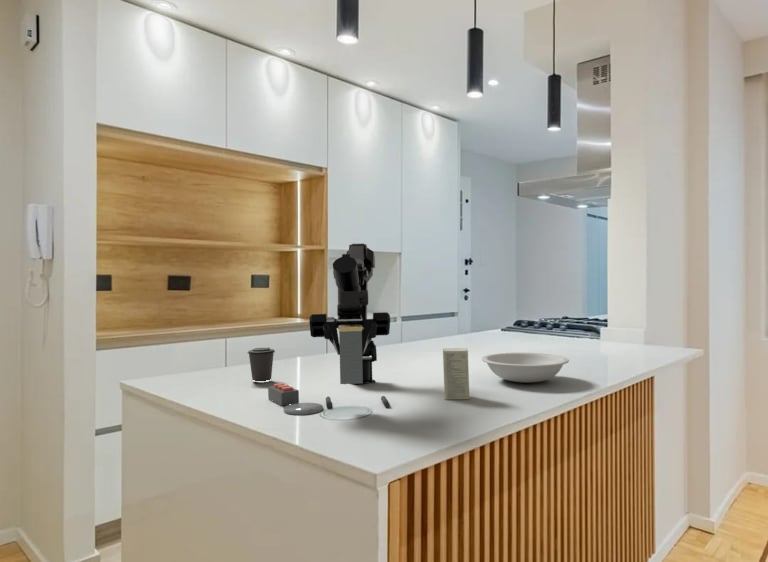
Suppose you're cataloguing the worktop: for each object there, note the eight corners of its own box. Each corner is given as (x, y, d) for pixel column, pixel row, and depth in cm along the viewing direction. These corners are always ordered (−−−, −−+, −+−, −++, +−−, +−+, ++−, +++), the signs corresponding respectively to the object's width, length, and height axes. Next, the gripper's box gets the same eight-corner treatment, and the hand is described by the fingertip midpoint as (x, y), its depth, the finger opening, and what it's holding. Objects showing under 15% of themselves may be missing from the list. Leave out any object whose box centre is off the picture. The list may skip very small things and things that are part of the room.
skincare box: (468, 395, 132) (467, 347, 132) (469, 400, 128) (468, 350, 128) (443, 395, 133) (442, 348, 133) (443, 399, 128) (442, 350, 128)
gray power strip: (268, 399, 132) (268, 383, 132) (284, 396, 135) (284, 381, 135) (281, 406, 125) (281, 389, 125) (298, 403, 127) (298, 387, 127)
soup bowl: (465, 379, 154) (464, 357, 154) (525, 371, 166) (524, 350, 166) (524, 394, 133) (523, 368, 133) (587, 383, 145) (587, 359, 145)
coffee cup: (281, 380, 157) (280, 347, 157) (261, 385, 150) (261, 350, 150) (262, 378, 161) (261, 345, 161) (241, 382, 154) (241, 349, 154)
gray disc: (312, 403, 127) (312, 400, 127) (329, 410, 119) (329, 408, 119) (277, 408, 122) (277, 406, 122) (292, 417, 115) (292, 414, 115)
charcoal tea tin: (340, 379, 121) (339, 324, 121) (362, 378, 121) (361, 324, 121) (339, 384, 116) (338, 327, 116) (363, 383, 116) (362, 326, 116)
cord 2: (380, 400, 128) (380, 396, 128) (385, 400, 128) (385, 395, 128) (384, 407, 121) (384, 402, 121) (389, 407, 122) (389, 402, 122)
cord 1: (325, 401, 129) (325, 396, 129) (330, 401, 129) (330, 396, 129) (326, 408, 122) (326, 403, 122) (331, 408, 122) (331, 403, 122)
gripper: (309, 279, 122) (306, 331, 111) (388, 278, 123) (394, 329, 112) (311, 311, 130) (309, 362, 119) (386, 309, 131) (391, 360, 120)
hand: (350, 353), depth 117 cm, fingers closed on charcoal tea tin, 5 cm apart
